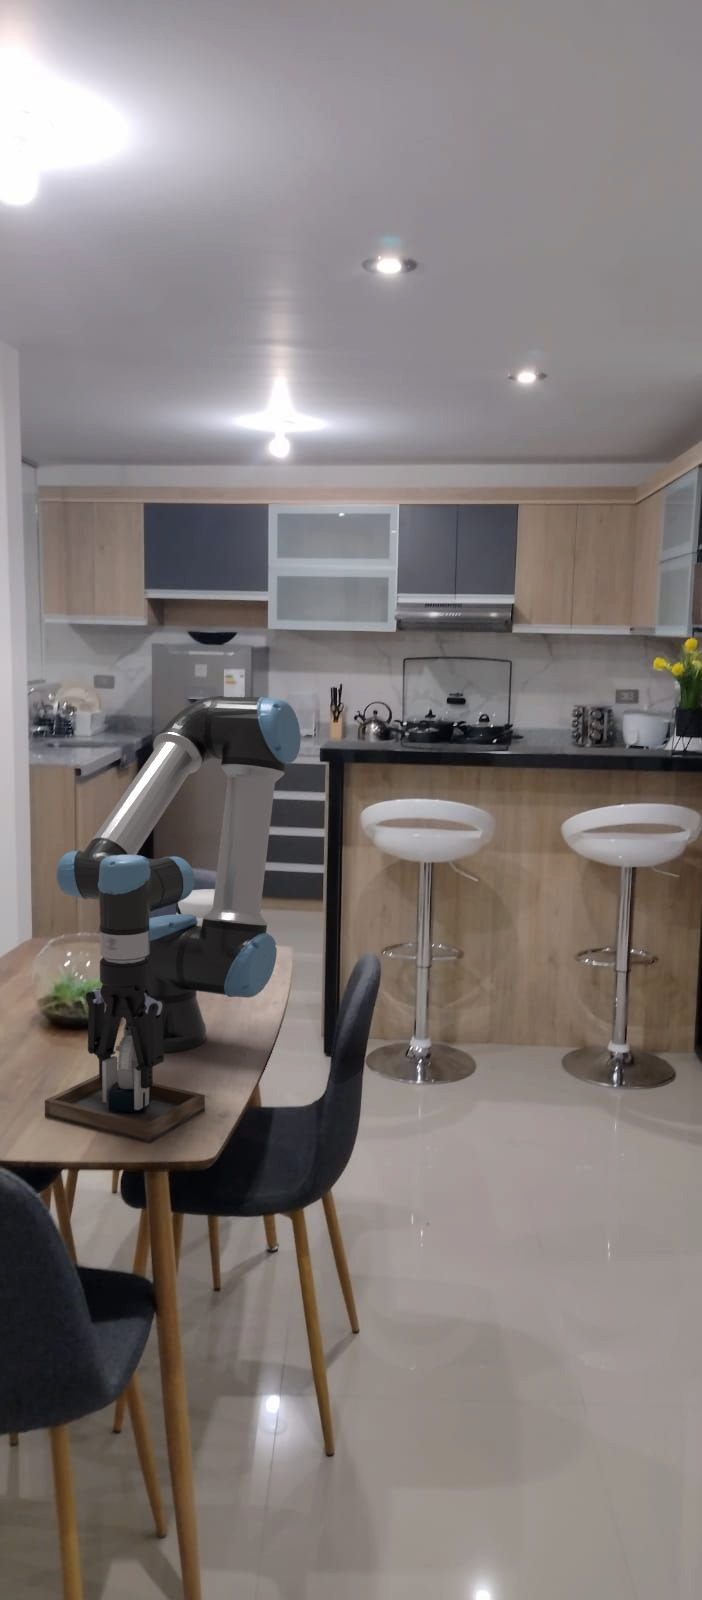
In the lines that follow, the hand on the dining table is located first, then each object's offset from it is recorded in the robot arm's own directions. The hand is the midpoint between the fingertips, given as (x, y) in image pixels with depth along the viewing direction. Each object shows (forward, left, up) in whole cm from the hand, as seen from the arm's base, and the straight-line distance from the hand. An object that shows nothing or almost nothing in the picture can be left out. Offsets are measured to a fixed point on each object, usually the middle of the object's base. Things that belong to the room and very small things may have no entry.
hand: (125, 1102), depth 175 cm
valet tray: (0, 0, -2) cm, 2 cm away
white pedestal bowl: (-72, -34, -2) cm, 80 cm away
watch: (-1, 0, -1) cm, 1 cm away
